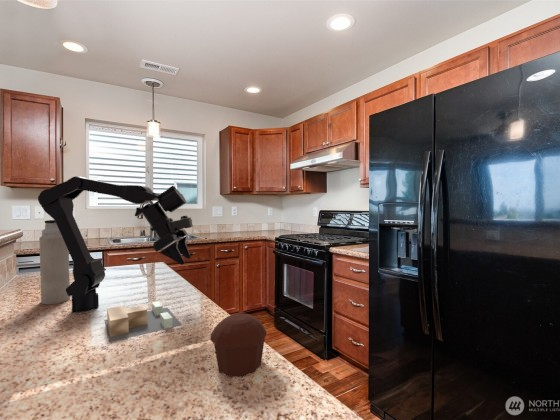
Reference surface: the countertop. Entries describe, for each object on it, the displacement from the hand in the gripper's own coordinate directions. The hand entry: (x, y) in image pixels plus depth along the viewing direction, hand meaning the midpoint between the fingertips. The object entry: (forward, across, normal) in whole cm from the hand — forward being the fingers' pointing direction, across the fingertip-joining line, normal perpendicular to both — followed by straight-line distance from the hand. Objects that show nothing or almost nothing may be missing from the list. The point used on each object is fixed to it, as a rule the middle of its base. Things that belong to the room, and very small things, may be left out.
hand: (186, 261), depth 94 cm
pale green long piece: (+9, -11, +12) cm, 18 cm away
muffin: (+22, -36, -7) cm, 43 cm away
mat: (+8, -13, +16) cm, 22 cm away
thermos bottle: (-13, +12, +48) cm, 51 cm away
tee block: (+5, -15, +18) cm, 24 cm away
